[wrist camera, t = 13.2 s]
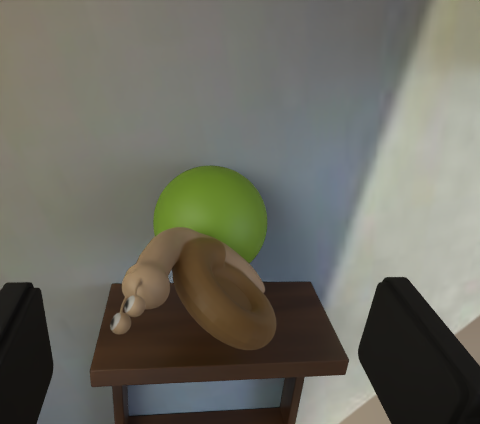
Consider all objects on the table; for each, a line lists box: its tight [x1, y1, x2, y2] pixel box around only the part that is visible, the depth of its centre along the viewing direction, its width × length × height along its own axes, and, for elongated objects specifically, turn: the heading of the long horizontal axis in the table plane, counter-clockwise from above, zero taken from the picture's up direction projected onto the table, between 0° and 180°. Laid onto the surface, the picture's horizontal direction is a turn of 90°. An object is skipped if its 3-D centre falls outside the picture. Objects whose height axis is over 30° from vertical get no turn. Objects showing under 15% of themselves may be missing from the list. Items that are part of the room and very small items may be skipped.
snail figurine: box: [110, 166, 276, 350], centre depth 16 cm, size 5×6×12 cm
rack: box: [90, 282, 349, 424], centre depth 24 cm, size 12×12×6 cm
